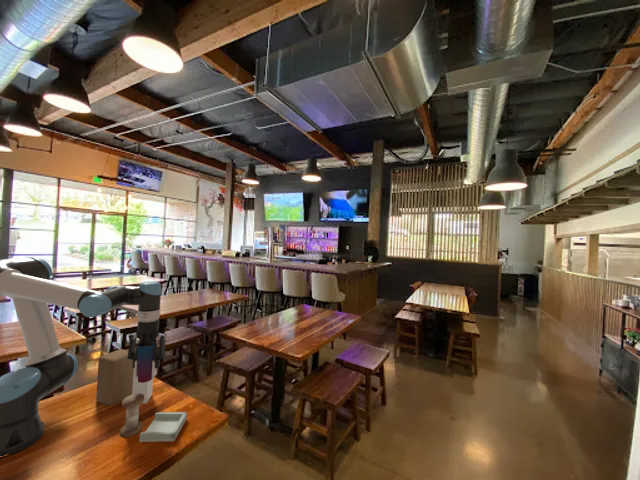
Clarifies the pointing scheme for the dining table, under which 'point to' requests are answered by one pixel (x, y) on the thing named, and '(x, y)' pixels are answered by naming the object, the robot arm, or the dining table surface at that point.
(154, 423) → the square tray
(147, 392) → the milk
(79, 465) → the dining table surface
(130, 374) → the wooden block
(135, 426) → the doorknob
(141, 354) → the cup
